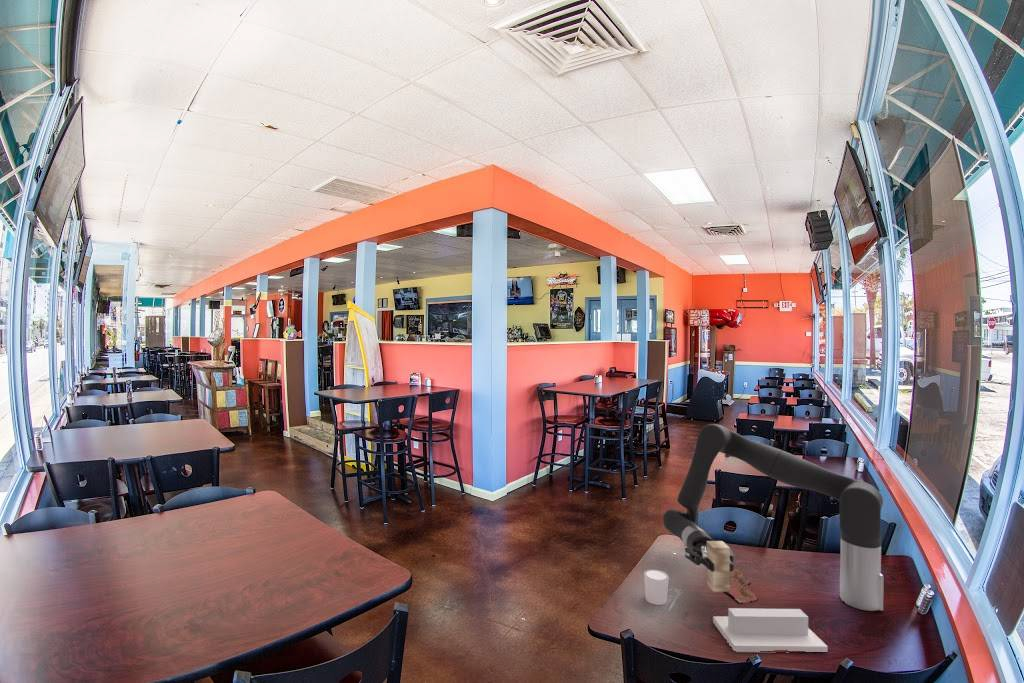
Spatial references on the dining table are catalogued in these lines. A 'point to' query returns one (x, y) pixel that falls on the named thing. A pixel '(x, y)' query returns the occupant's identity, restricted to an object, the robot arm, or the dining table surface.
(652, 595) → the white cylinder
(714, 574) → the maple block
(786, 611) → the ridge stand
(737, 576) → the wooden fragment
